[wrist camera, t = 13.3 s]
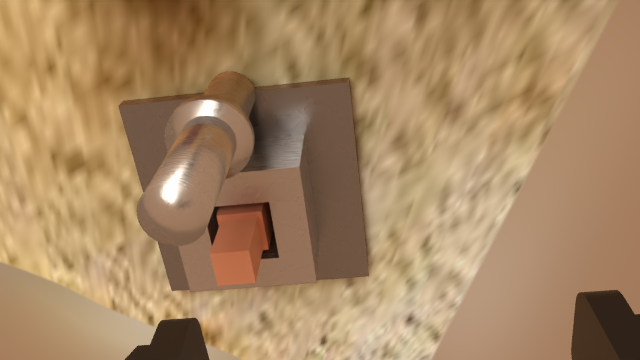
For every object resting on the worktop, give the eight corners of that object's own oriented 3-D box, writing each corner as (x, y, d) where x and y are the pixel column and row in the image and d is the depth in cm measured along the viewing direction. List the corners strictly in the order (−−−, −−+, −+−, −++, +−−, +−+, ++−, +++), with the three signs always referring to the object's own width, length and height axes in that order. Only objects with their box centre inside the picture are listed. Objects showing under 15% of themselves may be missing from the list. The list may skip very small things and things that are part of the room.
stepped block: (229, 180, 44) (203, 250, 36) (269, 176, 44) (252, 245, 36) (237, 215, 46) (214, 290, 38) (276, 211, 46) (261, 286, 38)
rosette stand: (113, 66, 42) (-18, 182, 27) (345, 41, 40) (345, 148, 25) (174, 283, 50) (102, 463, 35) (368, 268, 49) (378, 449, 34)
